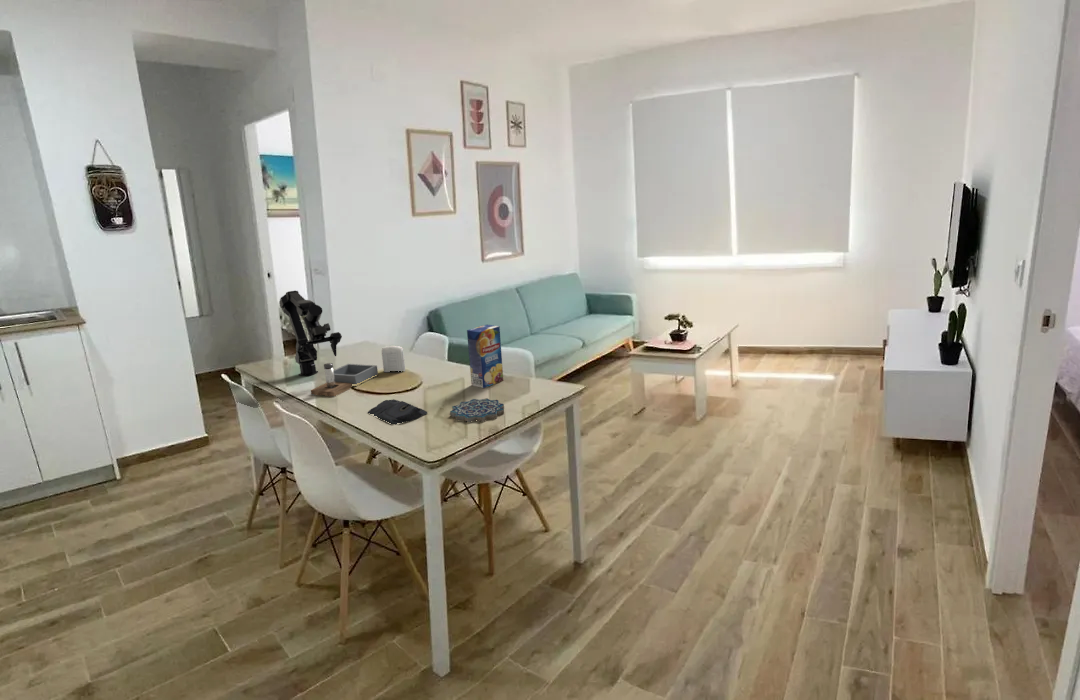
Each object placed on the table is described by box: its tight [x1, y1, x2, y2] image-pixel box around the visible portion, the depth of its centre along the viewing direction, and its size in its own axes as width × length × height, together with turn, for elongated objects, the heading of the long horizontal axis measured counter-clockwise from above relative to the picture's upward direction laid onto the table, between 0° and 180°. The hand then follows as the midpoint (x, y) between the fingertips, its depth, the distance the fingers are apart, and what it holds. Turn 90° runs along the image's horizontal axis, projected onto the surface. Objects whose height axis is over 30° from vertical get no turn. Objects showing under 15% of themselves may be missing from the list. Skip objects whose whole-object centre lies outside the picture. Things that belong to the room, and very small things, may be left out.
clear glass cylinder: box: [323, 362, 336, 389], centre depth 262 cm, size 4×4×12 cm
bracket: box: [310, 382, 353, 397], centre depth 263 cm, size 12×12×2 cm
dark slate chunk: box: [367, 398, 428, 425], centre depth 232 cm, size 15×22×5 cm
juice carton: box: [466, 324, 504, 389], centre depth 260 cm, size 12×8×24 cm, turn 140°
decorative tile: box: [449, 397, 505, 423], centre depth 229 cm, size 20×20×2 cm
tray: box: [333, 363, 379, 384], centre depth 277 cm, size 16×16×5 cm
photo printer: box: [381, 345, 406, 373], centre depth 286 cm, size 10×4×12 cm, turn 85°
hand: (325, 358), depth 265 cm, fingers open, 9 cm apart
